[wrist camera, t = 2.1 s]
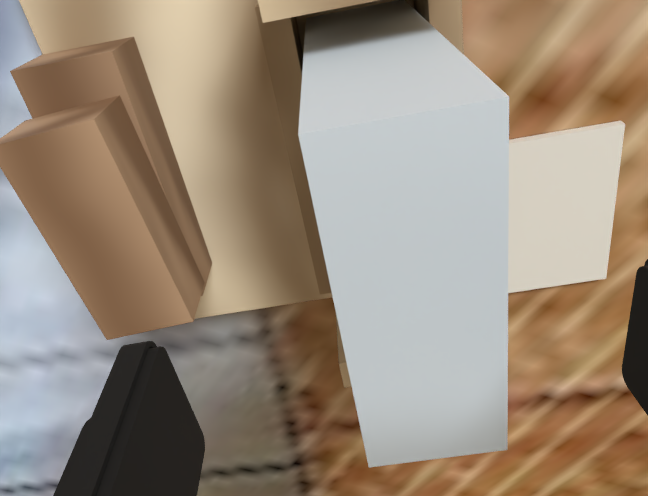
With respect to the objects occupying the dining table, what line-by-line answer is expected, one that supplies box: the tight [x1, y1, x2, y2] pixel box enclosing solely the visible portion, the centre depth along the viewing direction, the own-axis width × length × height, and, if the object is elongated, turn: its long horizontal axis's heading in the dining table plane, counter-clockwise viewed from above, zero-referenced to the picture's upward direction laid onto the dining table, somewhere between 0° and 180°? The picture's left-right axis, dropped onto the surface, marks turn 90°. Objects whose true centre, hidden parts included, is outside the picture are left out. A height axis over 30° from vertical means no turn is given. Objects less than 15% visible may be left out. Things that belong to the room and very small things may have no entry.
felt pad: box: [508, 121, 625, 293], centre depth 25 cm, size 7×8×1 cm
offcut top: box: [0, 95, 205, 340], centre depth 19 cm, size 4×8×2 cm, turn 14°
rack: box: [19, 0, 464, 388], centre depth 19 cm, size 15×16×8 cm
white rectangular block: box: [298, 0, 509, 467], centre depth 16 cm, size 4×9×12 cm, turn 10°
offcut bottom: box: [10, 37, 212, 296], centre depth 21 cm, size 4×10×2 cm, turn 10°
